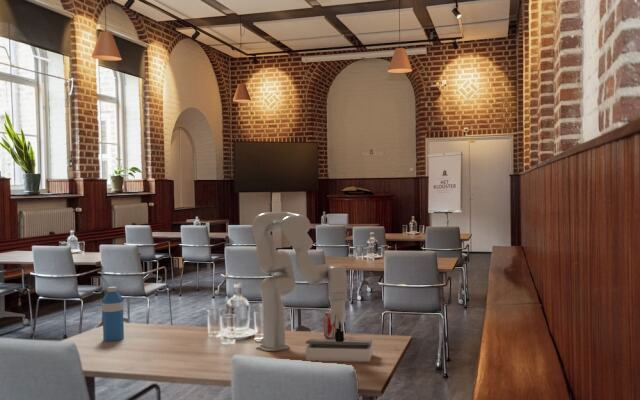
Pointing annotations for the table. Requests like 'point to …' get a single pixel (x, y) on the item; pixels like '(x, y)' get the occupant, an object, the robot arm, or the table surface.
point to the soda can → (328, 326)
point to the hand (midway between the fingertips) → (339, 341)
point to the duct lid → (333, 341)
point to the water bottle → (112, 315)
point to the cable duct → (339, 352)
